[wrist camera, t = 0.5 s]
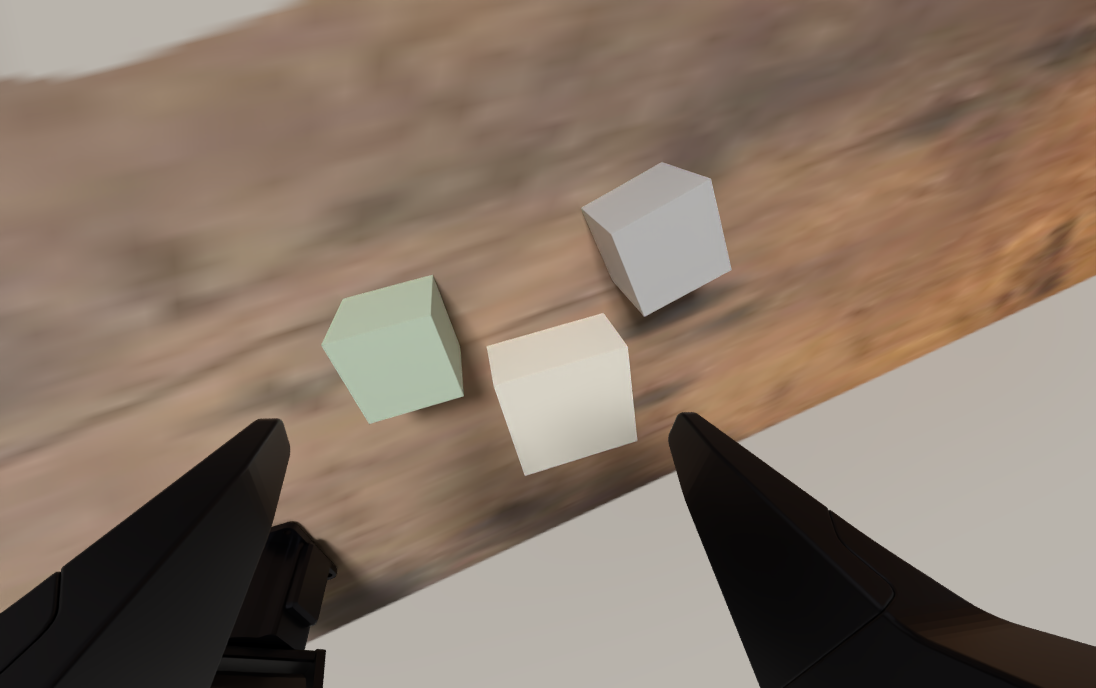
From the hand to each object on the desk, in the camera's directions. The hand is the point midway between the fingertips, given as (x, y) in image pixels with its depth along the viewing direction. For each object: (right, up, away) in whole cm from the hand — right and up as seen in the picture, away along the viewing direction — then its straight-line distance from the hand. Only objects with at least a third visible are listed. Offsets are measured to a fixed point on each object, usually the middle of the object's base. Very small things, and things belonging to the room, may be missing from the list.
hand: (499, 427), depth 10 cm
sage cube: (-6, +3, +12) cm, 14 cm away
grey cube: (+6, +8, +12) cm, 16 cm away
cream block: (+2, 0, +16) cm, 16 cm away
